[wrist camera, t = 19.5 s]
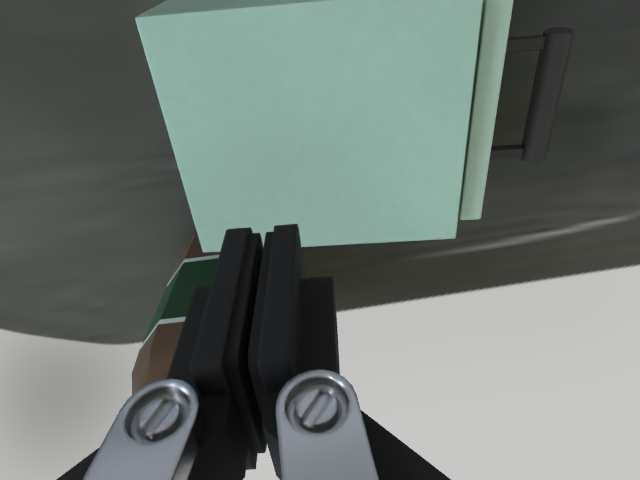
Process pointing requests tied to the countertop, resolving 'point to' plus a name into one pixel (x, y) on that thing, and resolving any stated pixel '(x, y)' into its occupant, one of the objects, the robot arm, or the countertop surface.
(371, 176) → the cabinet
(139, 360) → the beer bottle
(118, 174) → the countertop surface
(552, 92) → the drawer
